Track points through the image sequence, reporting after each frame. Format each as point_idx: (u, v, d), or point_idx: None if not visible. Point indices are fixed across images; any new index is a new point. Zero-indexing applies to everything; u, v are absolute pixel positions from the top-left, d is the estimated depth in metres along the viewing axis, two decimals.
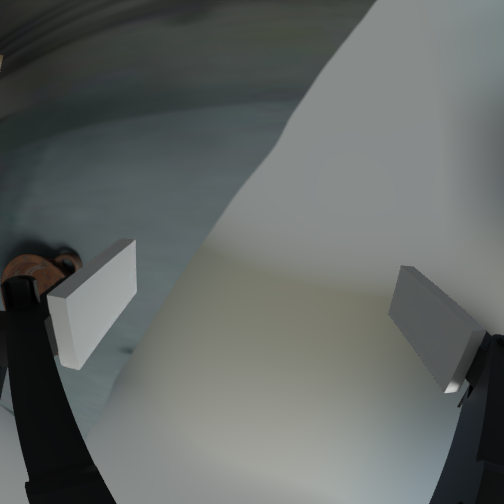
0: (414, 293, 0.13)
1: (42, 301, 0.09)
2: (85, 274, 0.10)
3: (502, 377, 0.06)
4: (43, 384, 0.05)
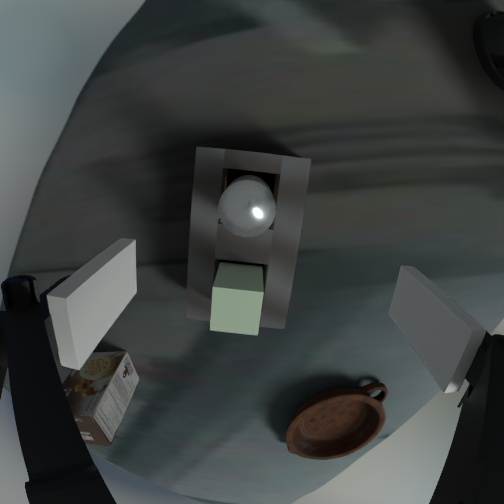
0: (414, 293, 0.13)
1: (42, 302, 0.09)
2: (85, 274, 0.10)
3: (502, 377, 0.06)
4: (43, 384, 0.05)
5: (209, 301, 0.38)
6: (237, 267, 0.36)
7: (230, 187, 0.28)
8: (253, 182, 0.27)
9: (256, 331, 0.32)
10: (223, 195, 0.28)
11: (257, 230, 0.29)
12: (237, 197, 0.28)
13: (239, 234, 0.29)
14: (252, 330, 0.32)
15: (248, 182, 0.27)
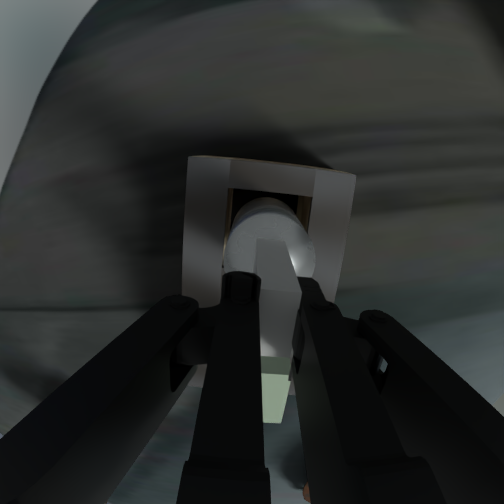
0: None
1: None
2: (269, 269, 0.13)
3: (332, 349, 0.08)
4: (242, 378, 0.07)
5: None
6: None
7: (242, 227, 0.17)
8: (280, 218, 0.17)
9: (279, 419, 0.21)
10: (231, 240, 0.17)
11: None
12: (255, 243, 0.17)
13: None
14: (273, 418, 0.21)
15: (272, 218, 0.17)
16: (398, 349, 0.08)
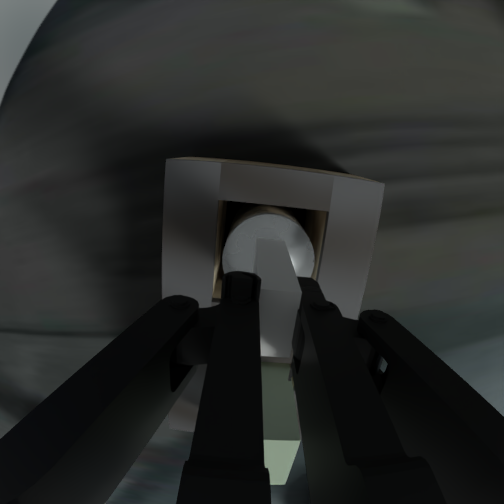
0: None
1: None
2: (269, 269, 0.13)
3: (332, 349, 0.08)
4: (242, 378, 0.07)
5: None
6: None
7: (241, 227, 0.17)
8: (279, 219, 0.17)
9: (283, 481, 0.16)
10: (230, 240, 0.17)
11: None
12: (253, 244, 0.17)
13: None
14: (276, 481, 0.16)
15: (271, 219, 0.17)
16: (398, 349, 0.08)
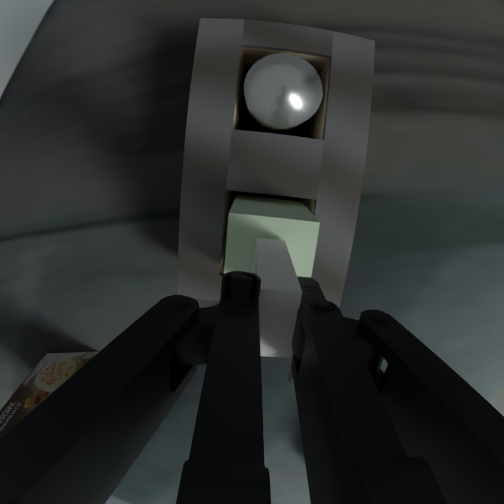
0: None
1: None
2: (268, 269, 0.13)
3: (333, 349, 0.08)
4: (242, 378, 0.07)
5: (216, 266, 0.23)
6: (264, 199, 0.22)
7: (260, 61, 0.18)
8: (291, 55, 0.18)
9: None
10: (251, 70, 0.18)
11: (299, 117, 0.19)
12: (270, 73, 0.18)
13: (273, 122, 0.19)
14: None
15: (284, 55, 0.18)
16: (398, 349, 0.08)
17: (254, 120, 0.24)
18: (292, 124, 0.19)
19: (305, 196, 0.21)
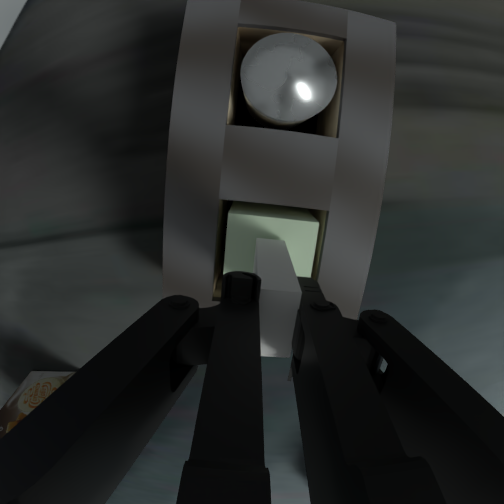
0: None
1: None
2: (269, 269, 0.13)
3: (332, 349, 0.08)
4: (242, 378, 0.07)
5: (208, 290, 0.19)
6: None
7: (261, 41, 0.14)
8: (298, 36, 0.14)
9: None
10: (249, 53, 0.14)
11: (308, 110, 0.15)
12: (273, 56, 0.14)
13: (277, 115, 0.15)
14: None
15: (290, 36, 0.14)
16: (398, 349, 0.08)
17: (253, 115, 0.20)
18: (300, 118, 0.15)
19: (315, 206, 0.17)
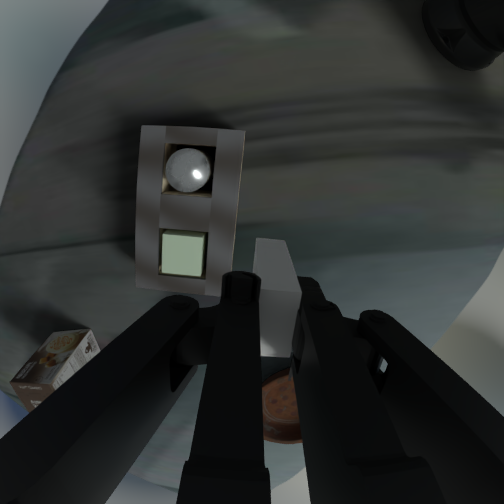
0: None
1: None
2: (269, 269, 0.13)
3: (332, 349, 0.08)
4: (242, 378, 0.07)
5: (156, 269, 0.39)
6: None
7: (174, 154, 0.35)
8: (191, 149, 0.34)
9: (199, 272, 0.39)
10: (169, 160, 0.35)
11: (195, 186, 0.36)
12: (179, 161, 0.35)
13: (181, 190, 0.36)
14: (195, 272, 0.39)
15: (187, 149, 0.35)
16: (398, 349, 0.08)
17: None
18: (192, 190, 0.36)
19: (202, 230, 0.38)
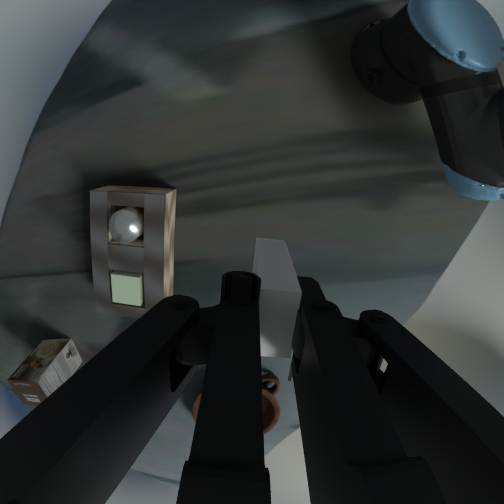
0: None
1: None
2: (269, 269, 0.13)
3: (332, 349, 0.08)
4: (242, 378, 0.07)
5: (109, 299, 0.48)
6: None
7: (113, 214, 0.44)
8: (125, 211, 0.44)
9: (139, 303, 0.48)
10: (110, 219, 0.44)
11: (130, 239, 0.45)
12: (118, 220, 0.44)
13: (121, 242, 0.45)
14: (136, 302, 0.48)
15: (123, 211, 0.44)
16: (398, 349, 0.08)
17: None
18: (128, 242, 0.45)
19: (139, 271, 0.47)
